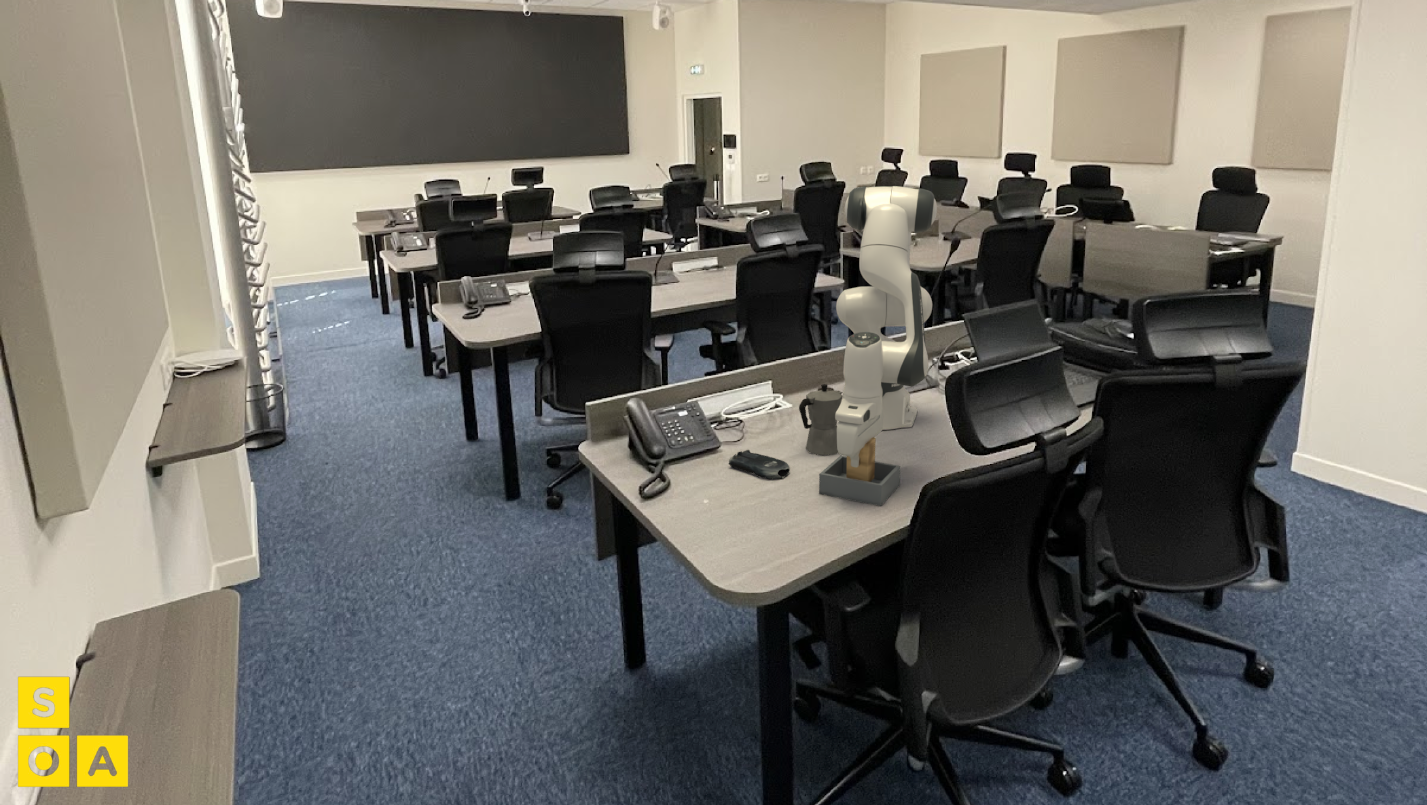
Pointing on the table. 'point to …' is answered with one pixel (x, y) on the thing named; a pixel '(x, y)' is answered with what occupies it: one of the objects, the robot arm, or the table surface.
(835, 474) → the desk bin
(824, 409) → the coffeepot
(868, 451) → the oak block
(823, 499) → the table surface
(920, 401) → the table surface
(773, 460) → the electronic device
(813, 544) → the table surface
